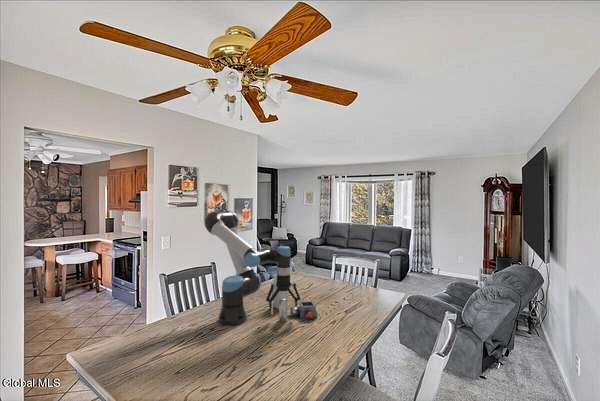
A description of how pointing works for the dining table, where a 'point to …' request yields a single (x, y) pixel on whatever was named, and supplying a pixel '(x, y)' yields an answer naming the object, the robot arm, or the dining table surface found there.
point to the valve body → (305, 310)
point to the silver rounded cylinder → (283, 310)
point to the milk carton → (280, 295)
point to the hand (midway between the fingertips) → (283, 313)
